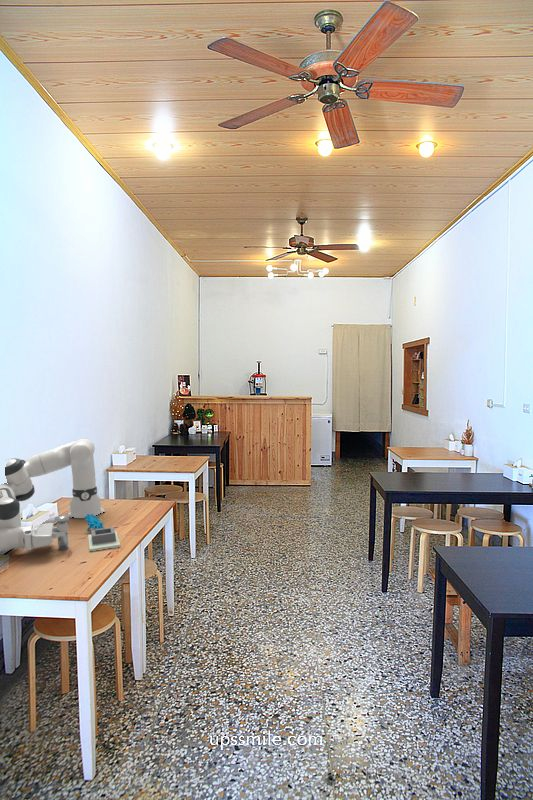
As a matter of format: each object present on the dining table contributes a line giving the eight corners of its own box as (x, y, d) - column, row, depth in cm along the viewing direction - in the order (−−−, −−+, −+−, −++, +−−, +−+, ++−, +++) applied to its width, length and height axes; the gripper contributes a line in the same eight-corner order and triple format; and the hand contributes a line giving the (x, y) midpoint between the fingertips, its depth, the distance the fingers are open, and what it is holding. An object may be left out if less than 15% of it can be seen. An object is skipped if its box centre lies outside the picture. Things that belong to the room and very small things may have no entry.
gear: (96, 530, 226) (83, 514, 229) (88, 539, 227) (74, 523, 229) (109, 526, 237) (96, 511, 239) (101, 535, 238) (88, 519, 240)
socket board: (88, 537, 222) (87, 527, 222) (116, 533, 226) (115, 523, 226) (89, 552, 204) (88, 540, 203) (120, 547, 208) (119, 536, 208)
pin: (56, 547, 211) (54, 516, 210) (70, 545, 213) (69, 514, 212) (56, 551, 206) (54, 519, 205) (70, 549, 208) (68, 517, 207)
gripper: (30, 536, 214) (65, 531, 219) (26, 551, 195) (64, 546, 200) (29, 521, 214) (64, 517, 219) (25, 535, 195) (64, 530, 200)
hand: (64, 531), depth 209 cm, fingers closed on pin, 4 cm apart
